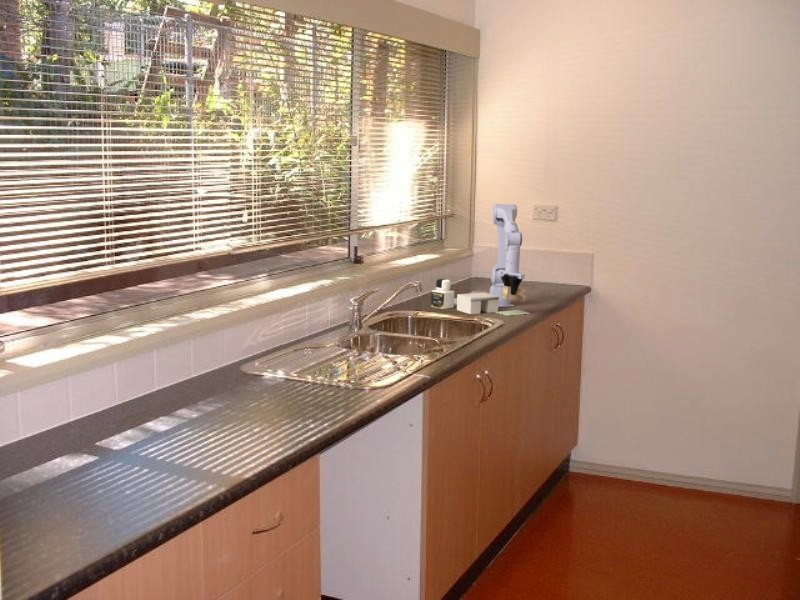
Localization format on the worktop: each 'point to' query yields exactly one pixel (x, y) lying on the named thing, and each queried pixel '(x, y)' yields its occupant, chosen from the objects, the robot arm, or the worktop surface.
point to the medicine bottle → (442, 295)
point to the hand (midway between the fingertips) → (510, 293)
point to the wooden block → (519, 295)
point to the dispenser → (477, 303)
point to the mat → (512, 312)
